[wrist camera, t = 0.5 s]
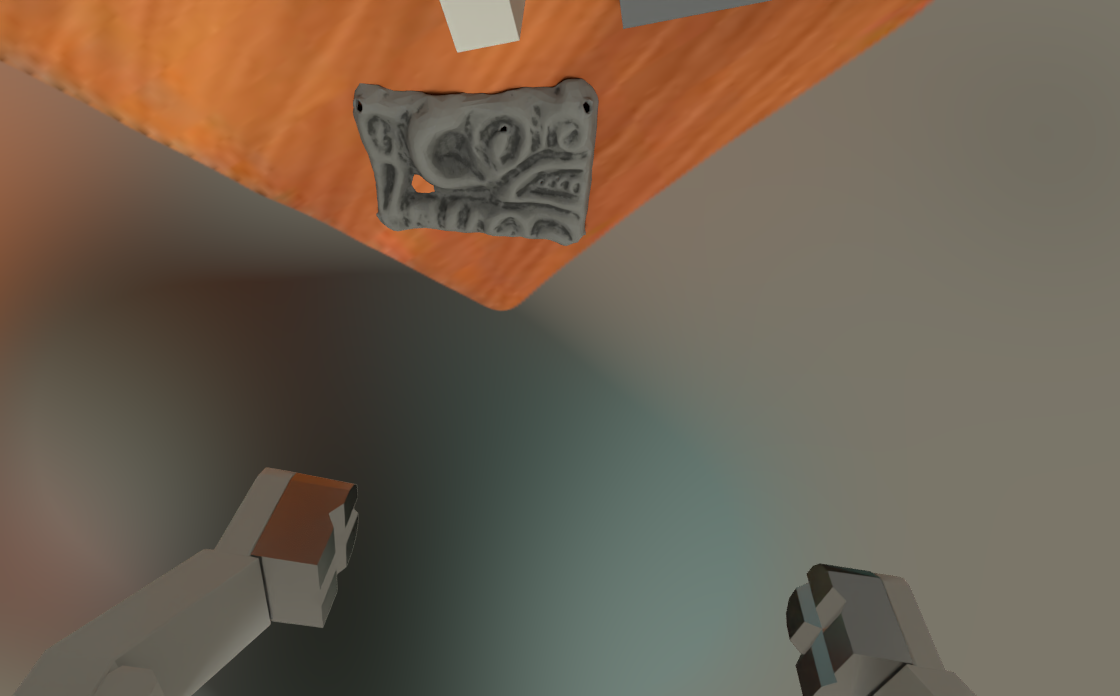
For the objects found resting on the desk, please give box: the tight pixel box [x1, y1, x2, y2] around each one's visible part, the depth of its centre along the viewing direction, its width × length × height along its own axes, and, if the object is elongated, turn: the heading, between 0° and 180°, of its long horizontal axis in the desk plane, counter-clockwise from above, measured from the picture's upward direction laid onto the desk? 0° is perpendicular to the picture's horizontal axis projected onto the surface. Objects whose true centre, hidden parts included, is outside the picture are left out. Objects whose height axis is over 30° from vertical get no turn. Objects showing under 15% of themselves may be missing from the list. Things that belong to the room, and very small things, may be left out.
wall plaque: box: [353, 79, 598, 246], centre depth 64 cm, size 24×19×4 cm
